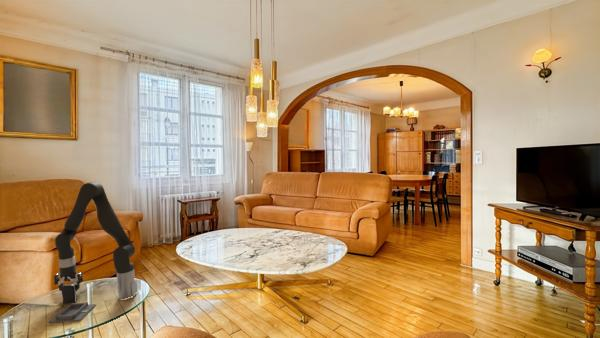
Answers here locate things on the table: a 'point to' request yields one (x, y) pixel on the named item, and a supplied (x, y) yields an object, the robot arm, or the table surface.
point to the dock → (72, 313)
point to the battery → (69, 293)
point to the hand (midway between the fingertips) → (69, 289)
